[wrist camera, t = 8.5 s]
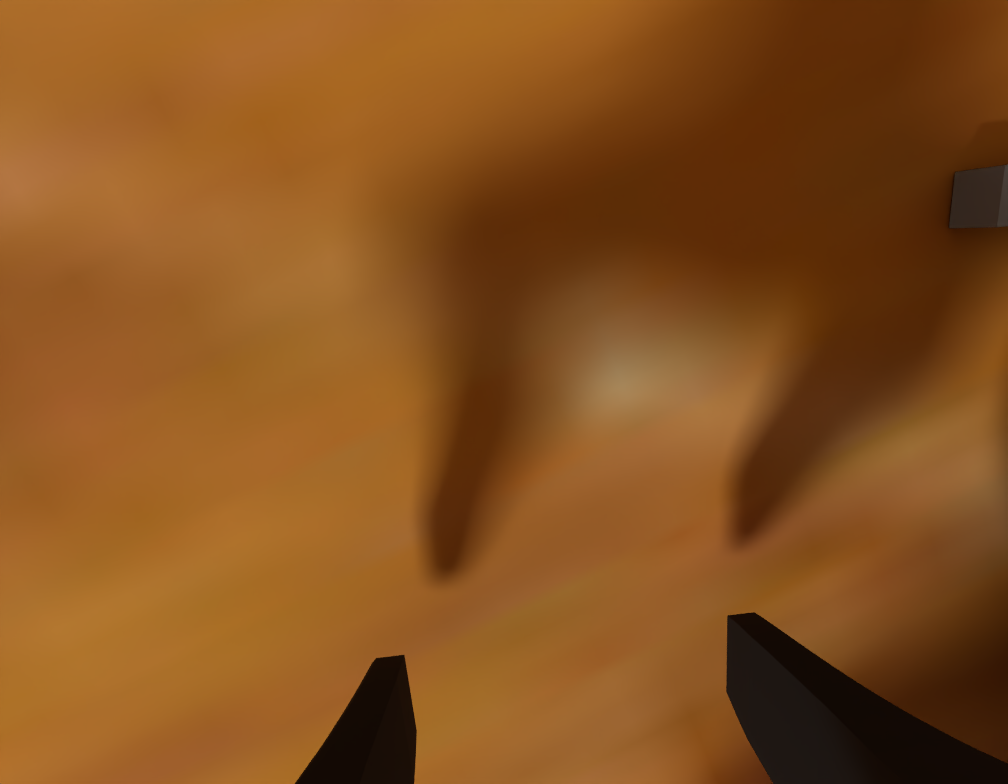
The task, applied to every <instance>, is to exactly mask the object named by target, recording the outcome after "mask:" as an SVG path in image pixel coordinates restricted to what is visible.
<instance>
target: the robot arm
mask: <svg viewBox="0 0 1008 784" xmlns="http://www.w3.org/2000/svg"><path fill="white" fill-rule="evenodd" d="M726 692H727V694H728V696H729V699H730V701H731V703H732V706H733V708H734V710H735V713H736V715H737V717H738V719H739V722H740V724H741V726H742V728H743V730H744V732H745V735H746V737H747V739H748V741H749V742H750V744H751V746H752V748H753V750H754V751H755V753H756V755H757V756H758V758H759V760H760V762H761V763H762V765H763V767H764V768H765V770H766V772H767V774H768V775H769V777H770V779H771V780H772V782H773V784H1008V764H1007V763H1005V762H1003V761H1001V760H999V759H996V758H994V757H992V756H990V755H988V754H986V753H984V752H981V751H979V750H977V749H975V748H973V747H971V746H969V745H967V744H965V743H963V742H961V741H959V740H957V739H955V738H953V737H951V736H949V735H948V734H946V733H944V732H942V731H940V730H938V729H936V728H934V727H933V726H931V725H929V724H927V723H925V722H923V721H921V720H919V719H918V718H916V717H914V716H912V715H910V714H909V713H907V712H905V711H903V710H902V709H900V708H898V707H897V706H895V705H893V704H892V703H890V702H888V701H887V700H885V699H883V698H882V697H880V696H878V695H877V694H875V693H873V692H872V691H870V690H869V689H867V688H865V687H864V686H862V685H861V684H859V683H857V682H856V681H854V680H853V679H851V678H850V677H848V676H847V675H845V674H844V673H842V672H840V671H839V670H837V669H836V668H834V667H833V666H831V665H830V664H829V663H827V662H826V661H824V660H823V659H821V658H820V657H818V656H817V655H815V654H814V653H812V652H811V651H809V650H808V649H807V648H805V647H804V646H802V645H801V644H799V643H798V642H797V641H795V640H794V639H792V638H791V637H789V636H788V635H787V634H785V633H784V632H782V631H781V630H780V629H778V628H777V627H775V626H774V625H772V624H771V623H770V622H768V621H767V620H765V619H764V618H762V617H761V616H759V615H758V614H756V613H755V612H753V613H745V614H737V615H728V619H727V687H726ZM416 733H417V730H416V724H415V718H414V712H413V706H412V699H411V693H410V687H409V681H408V675H407V669H406V663H405V657H404V655H399V656H391V657H383V658H376V659H375V660H374V662H373V663H372V664H371V666H370V668H369V670H368V671H367V673H366V675H365V677H364V679H363V680H362V682H361V684H360V686H359V687H358V689H357V691H356V692H355V694H354V696H353V697H352V699H351V701H350V702H349V704H348V706H347V707H346V709H345V711H344V712H343V714H342V715H341V717H340V719H339V720H338V722H337V723H336V725H335V726H334V728H333V729H332V731H331V733H330V734H329V736H328V737H327V739H326V740H325V742H324V743H323V745H322V746H321V748H320V749H319V751H318V752H317V753H316V755H315V756H314V758H313V759H312V760H311V762H310V763H309V765H308V766H307V767H306V769H305V770H304V772H303V773H302V774H301V776H300V777H299V779H298V780H297V781H296V783H295V784H414V776H415V757H416Z"/></svg>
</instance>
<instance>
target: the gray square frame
mask: <svg viewBox="0 0 1008 784" xmlns="http://www.w3.org/2000/svg"><path fill="white" fill-rule="evenodd" d="M1004 226H1008V165H1002V166H995V167H988V168H980V169H973V170H966V171H959V172H955V178H954V187H953V196H952V205H951V214H950V223H949V228H983V227H1004Z"/></svg>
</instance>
